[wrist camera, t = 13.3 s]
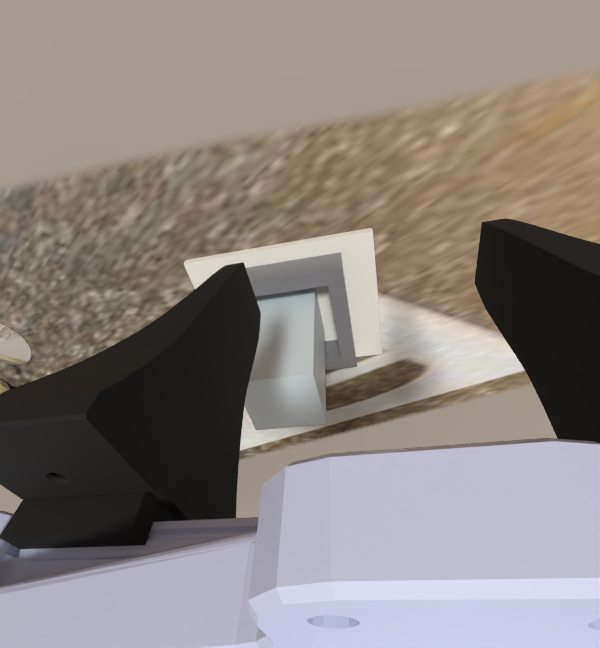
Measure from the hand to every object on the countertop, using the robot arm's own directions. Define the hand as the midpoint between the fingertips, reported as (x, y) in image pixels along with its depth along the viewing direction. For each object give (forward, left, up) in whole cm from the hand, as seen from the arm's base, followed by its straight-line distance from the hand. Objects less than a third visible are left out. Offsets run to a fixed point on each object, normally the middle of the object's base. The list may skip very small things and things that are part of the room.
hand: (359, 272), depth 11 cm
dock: (+3, +9, -10) cm, 14 cm away
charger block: (+3, +9, -10) cm, 14 cm away
